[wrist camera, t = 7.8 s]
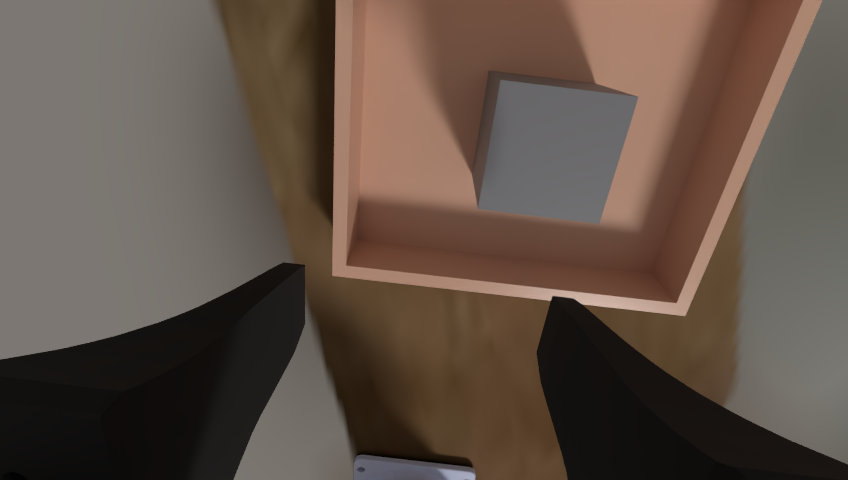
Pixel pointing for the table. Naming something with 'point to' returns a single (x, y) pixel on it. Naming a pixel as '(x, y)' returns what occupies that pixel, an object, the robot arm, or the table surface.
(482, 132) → the grey block
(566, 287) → the terracotta bin
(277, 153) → the table surface
